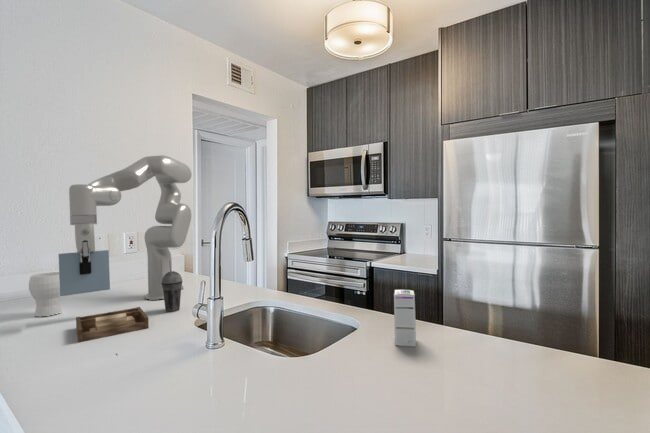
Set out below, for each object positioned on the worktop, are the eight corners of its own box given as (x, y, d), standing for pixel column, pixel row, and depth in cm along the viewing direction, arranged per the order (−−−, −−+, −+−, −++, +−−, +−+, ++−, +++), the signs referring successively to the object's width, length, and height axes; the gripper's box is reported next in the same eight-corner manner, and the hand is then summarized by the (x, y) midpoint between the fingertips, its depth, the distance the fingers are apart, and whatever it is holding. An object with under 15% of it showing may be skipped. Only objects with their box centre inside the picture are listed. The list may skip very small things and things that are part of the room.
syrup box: (416, 347, 92) (416, 294, 92) (394, 345, 93) (393, 293, 93) (415, 339, 98) (414, 289, 97) (394, 337, 99) (393, 288, 99)
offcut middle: (131, 320, 110) (131, 315, 110) (134, 323, 106) (134, 319, 106) (94, 327, 103) (94, 322, 103) (97, 331, 100) (97, 326, 100)
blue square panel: (109, 288, 122) (108, 249, 121) (110, 289, 120) (108, 250, 120) (60, 295, 113) (58, 253, 113) (60, 296, 111) (58, 254, 111)
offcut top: (125, 317, 108) (125, 312, 108) (126, 320, 105) (126, 316, 105) (95, 322, 104) (95, 317, 104) (95, 326, 100) (95, 321, 100)
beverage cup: (186, 310, 129) (185, 258, 128) (176, 316, 122) (175, 261, 121) (168, 309, 130) (167, 258, 129) (157, 315, 122) (156, 261, 122)
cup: (50, 318, 120) (49, 277, 120) (21, 318, 121) (20, 277, 120) (73, 309, 131) (72, 271, 131) (46, 310, 131) (45, 271, 131)
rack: (139, 319, 118) (139, 306, 118) (148, 331, 107) (148, 317, 107) (76, 331, 107) (76, 317, 107) (78, 346, 95) (77, 330, 95)
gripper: (98, 220, 112) (100, 275, 112) (95, 219, 125) (96, 269, 125) (70, 221, 107) (72, 278, 108) (69, 220, 120) (71, 271, 120)
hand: (85, 273), depth 116 cm, fingers closed on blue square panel, 2 cm apart
